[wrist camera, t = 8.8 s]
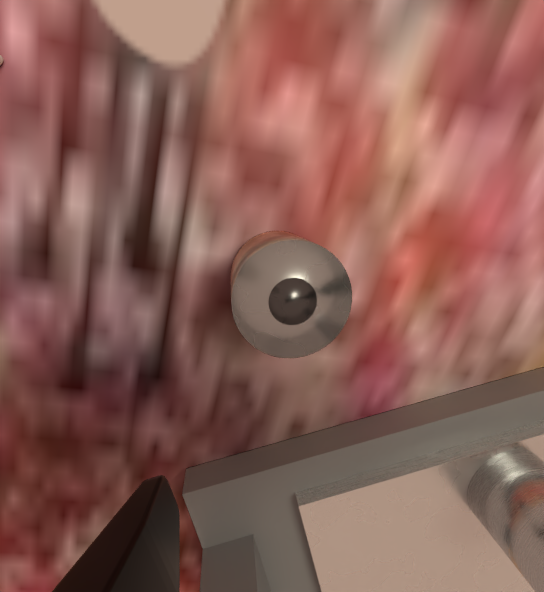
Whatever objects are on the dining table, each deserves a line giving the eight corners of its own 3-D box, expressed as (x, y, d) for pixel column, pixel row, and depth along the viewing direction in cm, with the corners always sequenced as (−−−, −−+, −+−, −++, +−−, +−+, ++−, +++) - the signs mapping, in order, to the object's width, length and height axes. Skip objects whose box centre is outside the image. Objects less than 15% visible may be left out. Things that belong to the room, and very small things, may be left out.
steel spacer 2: (545, 439, 21) (642, 512, 16) (547, 508, 22) (638, 594, 17) (462, 464, 20) (536, 545, 16) (470, 531, 22) (540, 626, 17)
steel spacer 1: (311, 220, 19) (340, 226, 14) (329, 308, 20) (361, 341, 16) (219, 244, 19) (216, 258, 14) (243, 331, 20) (249, 372, 15)
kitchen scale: (554, 363, 23) (652, 411, 18) (560, 589, 28) (636, 678, 23) (180, 470, 22) (165, 555, 17) (260, 685, 27) (268, 802, 22)
